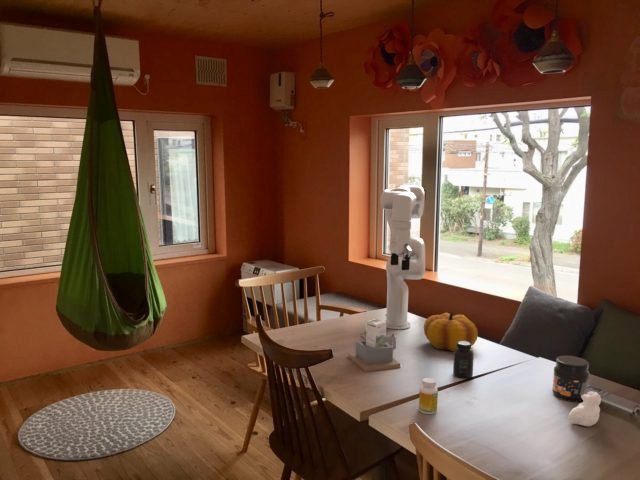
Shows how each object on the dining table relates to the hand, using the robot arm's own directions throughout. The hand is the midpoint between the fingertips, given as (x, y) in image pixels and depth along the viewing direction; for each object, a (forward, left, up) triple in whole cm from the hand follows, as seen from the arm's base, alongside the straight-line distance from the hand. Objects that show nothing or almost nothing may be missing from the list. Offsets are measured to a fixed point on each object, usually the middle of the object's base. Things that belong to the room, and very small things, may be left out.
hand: (399, 267), depth 221 cm
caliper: (-6, -6, -33) cm, 34 cm away
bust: (+77, +22, -33) cm, 87 cm away
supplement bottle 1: (+56, -18, -33) cm, 67 cm away
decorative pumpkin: (+7, +20, -33) cm, 39 cm away
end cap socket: (+14, -17, -33) cm, 39 cm away
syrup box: (+14, -16, -31) cm, 38 cm away
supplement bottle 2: (+35, +8, -33) cm, 49 cm away
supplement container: (+60, +32, -33) cm, 76 cm away
